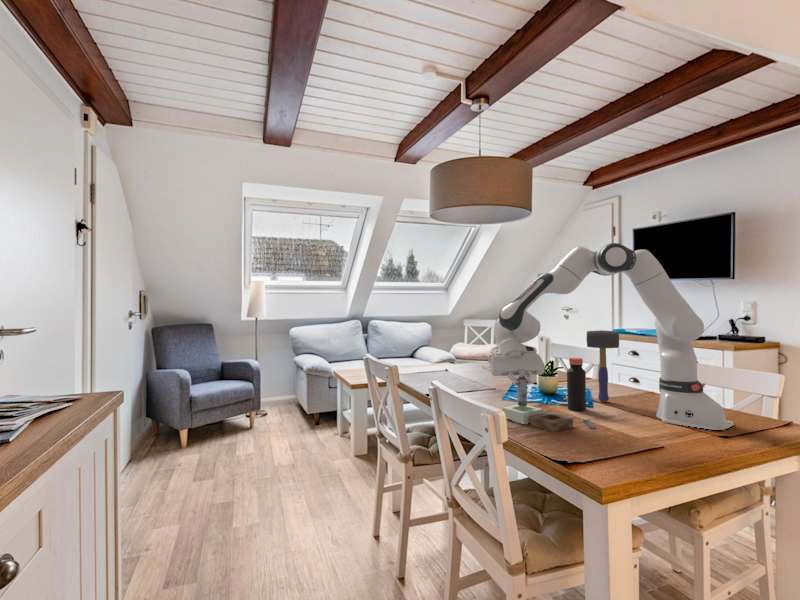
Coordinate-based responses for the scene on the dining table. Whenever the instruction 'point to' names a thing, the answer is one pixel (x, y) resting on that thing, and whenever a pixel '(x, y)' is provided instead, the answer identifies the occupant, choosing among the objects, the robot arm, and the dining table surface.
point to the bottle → (576, 385)
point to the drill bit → (522, 388)
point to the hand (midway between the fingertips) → (522, 383)
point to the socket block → (551, 421)
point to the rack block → (521, 413)
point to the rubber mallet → (603, 356)
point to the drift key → (589, 424)
